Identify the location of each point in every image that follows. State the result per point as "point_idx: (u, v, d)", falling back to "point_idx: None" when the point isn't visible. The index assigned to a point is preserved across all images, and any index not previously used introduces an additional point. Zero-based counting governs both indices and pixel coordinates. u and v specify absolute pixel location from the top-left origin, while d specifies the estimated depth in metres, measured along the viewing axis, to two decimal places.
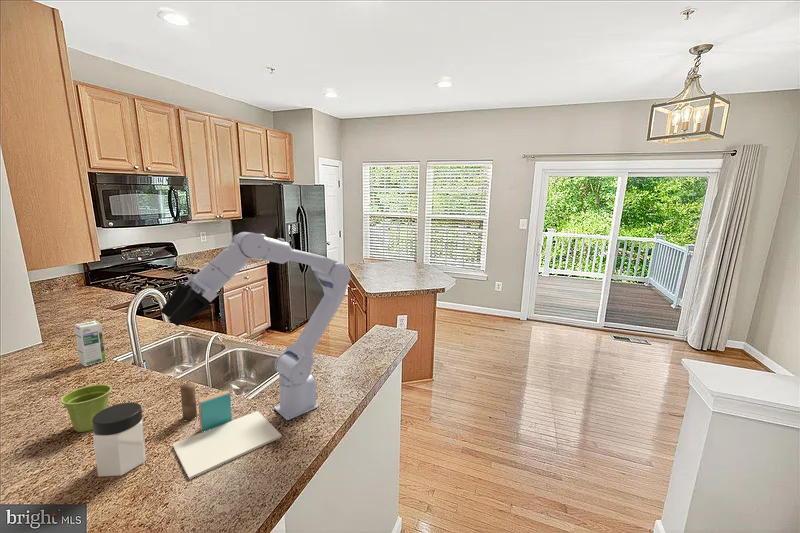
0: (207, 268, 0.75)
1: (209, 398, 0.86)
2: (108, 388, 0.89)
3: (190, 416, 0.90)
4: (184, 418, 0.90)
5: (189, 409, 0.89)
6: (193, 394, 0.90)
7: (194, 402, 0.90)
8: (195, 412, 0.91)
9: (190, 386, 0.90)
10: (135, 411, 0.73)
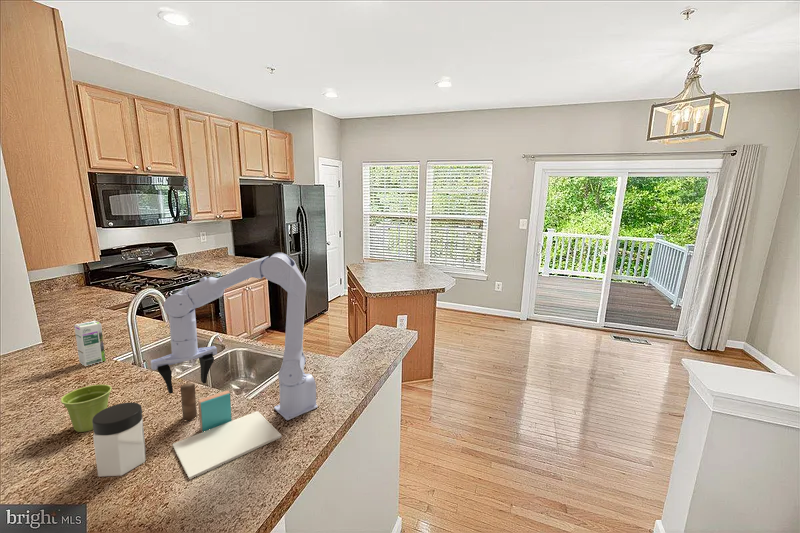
0: None
1: (209, 398, 0.86)
2: (108, 388, 0.89)
3: (190, 416, 0.90)
4: (184, 418, 0.90)
5: (189, 409, 0.89)
6: (193, 394, 0.90)
7: (194, 402, 0.90)
8: (195, 412, 0.91)
9: (190, 386, 0.90)
10: (135, 411, 0.73)
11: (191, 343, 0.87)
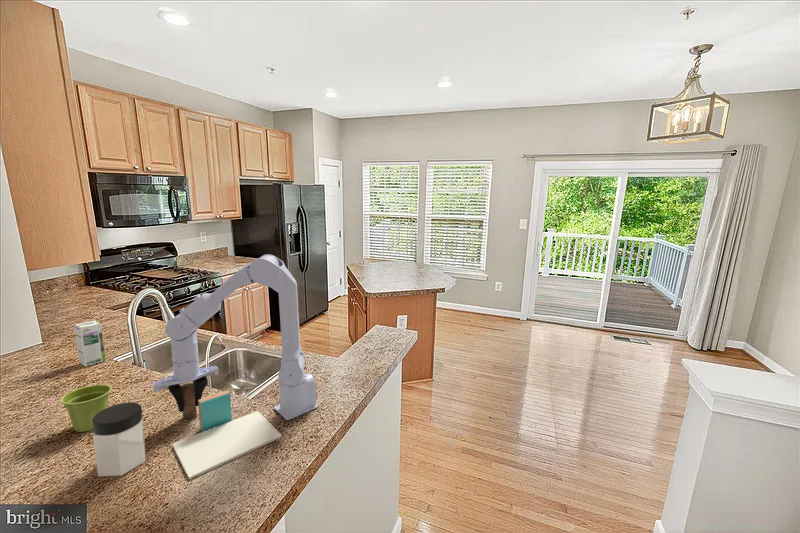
0: None
1: (209, 398, 0.86)
2: (108, 388, 0.89)
3: (190, 416, 0.90)
4: (184, 418, 0.90)
5: (189, 409, 0.89)
6: (193, 394, 0.90)
7: (194, 402, 0.90)
8: (195, 412, 0.91)
9: (190, 386, 0.90)
10: (135, 411, 0.73)
11: (193, 365, 0.87)
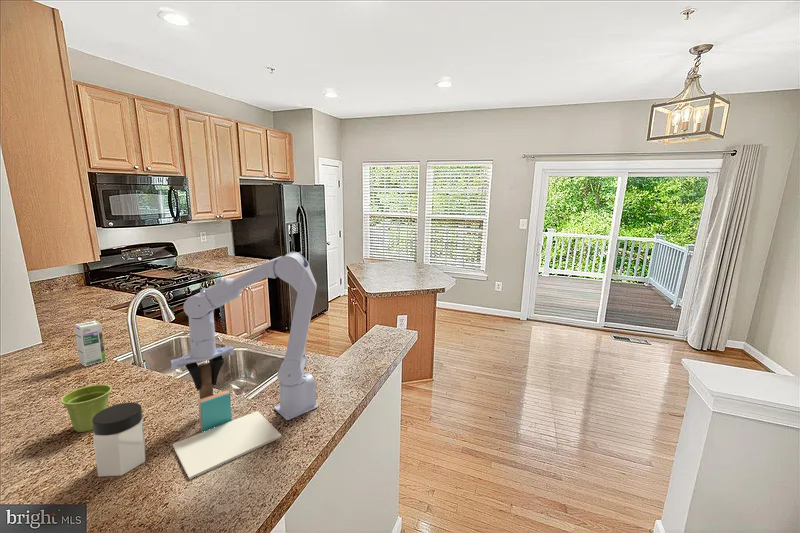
0: None
1: (209, 398, 0.86)
2: (108, 388, 0.89)
3: (207, 394, 0.91)
4: (201, 397, 0.91)
5: (205, 387, 0.91)
6: (210, 373, 0.91)
7: (211, 381, 0.92)
8: (211, 391, 0.92)
9: (206, 365, 0.91)
10: (135, 411, 0.73)
11: (210, 343, 0.89)
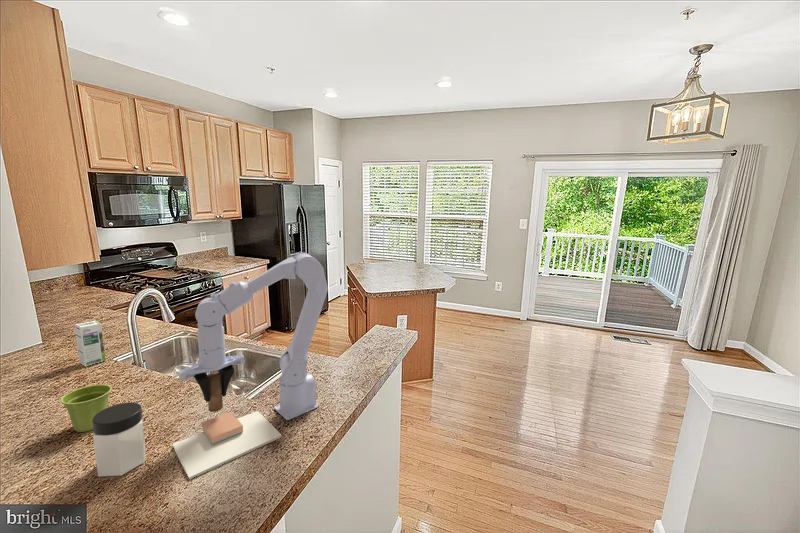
0: None
1: (222, 437, 0.81)
2: (108, 388, 0.89)
3: (216, 406, 0.86)
4: (210, 409, 0.86)
5: (215, 399, 0.85)
6: (219, 384, 0.86)
7: (220, 392, 0.86)
8: (221, 403, 0.87)
9: (216, 375, 0.86)
10: (135, 411, 0.73)
11: (220, 352, 0.84)
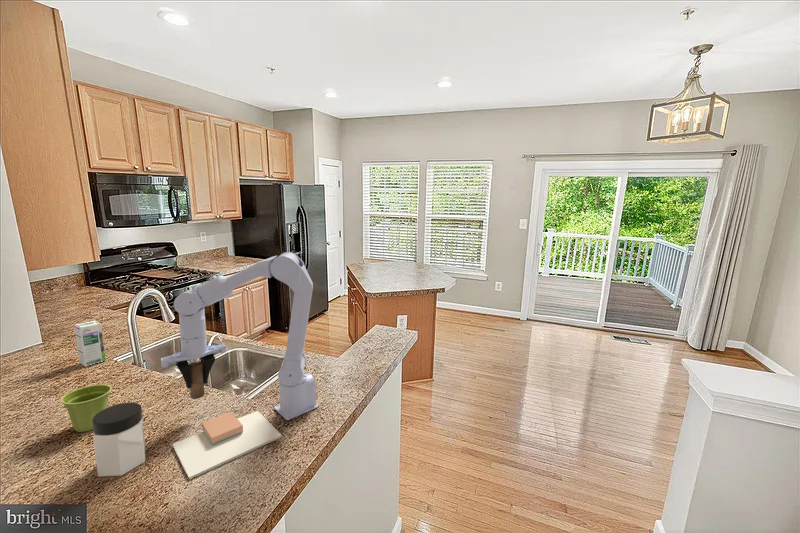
0: None
1: (222, 437, 0.81)
2: (108, 388, 0.89)
3: (198, 394, 0.89)
4: (192, 396, 0.89)
5: (196, 387, 0.89)
6: (201, 372, 0.89)
7: (202, 380, 0.90)
8: (203, 390, 0.91)
9: (198, 364, 0.89)
10: (135, 411, 0.73)
11: (201, 341, 0.87)
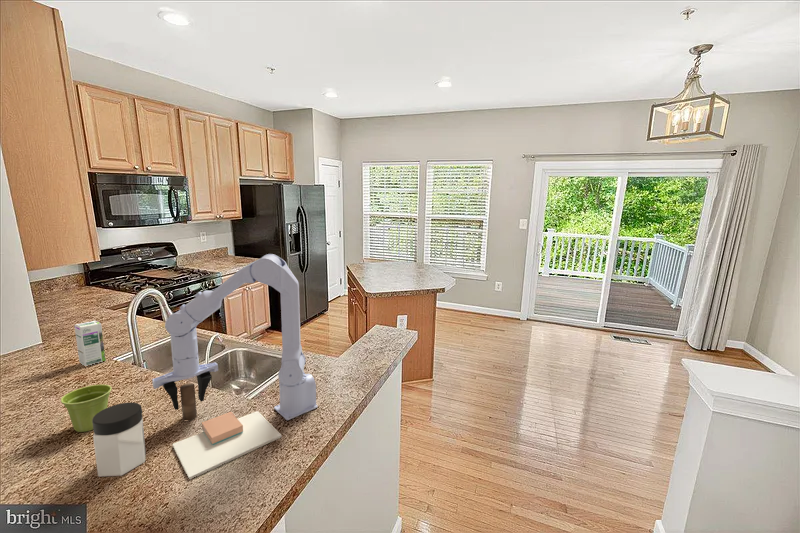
0: None
1: (222, 437, 0.81)
2: (108, 388, 0.89)
3: (190, 416, 0.90)
4: (184, 418, 0.90)
5: (188, 409, 0.89)
6: (193, 394, 0.90)
7: (194, 402, 0.90)
8: (195, 412, 0.91)
9: (189, 386, 0.90)
10: (135, 411, 0.73)
11: (192, 361, 0.87)
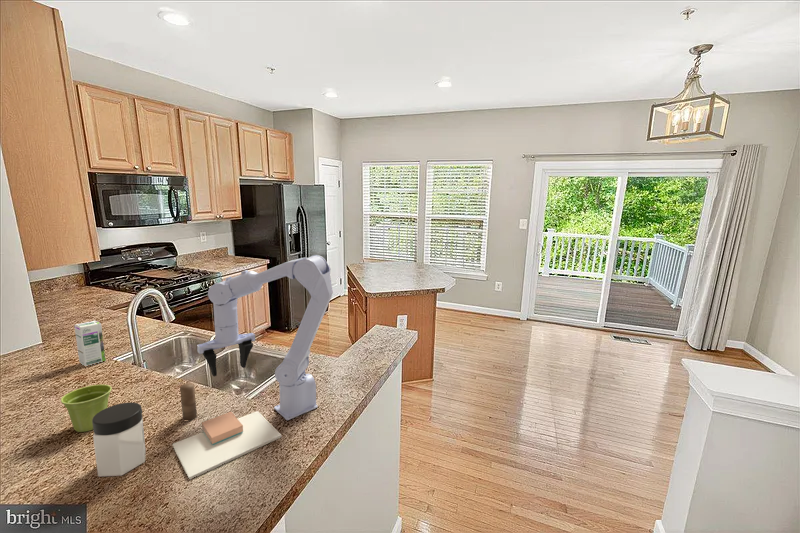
0: None
1: (222, 437, 0.81)
2: (108, 388, 0.89)
3: (190, 416, 0.90)
4: (184, 418, 0.90)
5: (188, 409, 0.89)
6: (193, 394, 0.90)
7: (194, 402, 0.90)
8: (195, 412, 0.91)
9: (189, 386, 0.90)
10: (135, 411, 0.73)
11: (233, 329, 0.93)
